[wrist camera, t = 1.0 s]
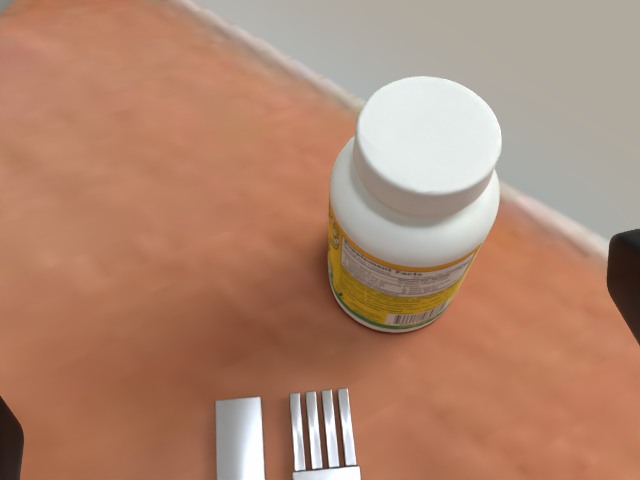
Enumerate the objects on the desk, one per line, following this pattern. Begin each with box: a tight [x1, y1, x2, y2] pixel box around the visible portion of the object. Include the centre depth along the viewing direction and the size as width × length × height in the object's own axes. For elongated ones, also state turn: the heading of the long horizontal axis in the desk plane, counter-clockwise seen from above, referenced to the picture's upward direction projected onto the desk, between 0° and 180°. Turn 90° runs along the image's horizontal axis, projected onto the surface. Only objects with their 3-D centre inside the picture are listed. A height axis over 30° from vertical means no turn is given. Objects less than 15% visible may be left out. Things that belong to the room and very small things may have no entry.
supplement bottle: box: [328, 76, 502, 332], centre depth 21 cm, size 5×5×10 cm
